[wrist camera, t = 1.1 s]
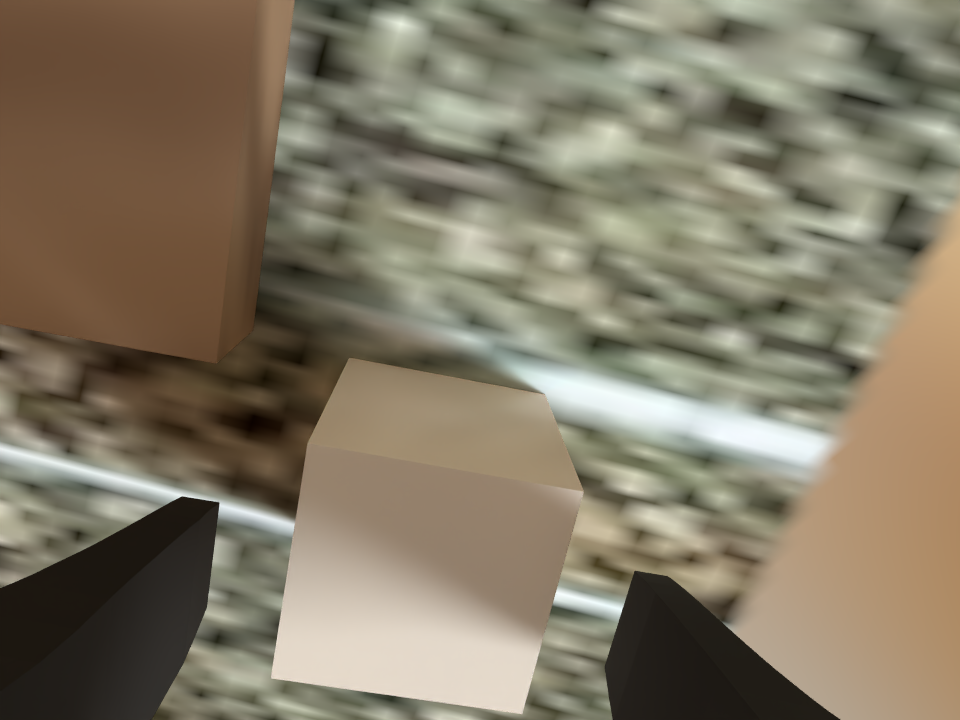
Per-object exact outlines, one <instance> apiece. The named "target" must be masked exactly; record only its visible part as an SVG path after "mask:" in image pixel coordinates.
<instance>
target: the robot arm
mask: <svg viewBox="0 0 960 720" xmlns="http://www.w3.org/2000/svg"><path fill="white" fill-rule="evenodd" d="M218 511H219V502H213V501H206V500H200V499H194V498H188V497H180V498H178V499H176V500H174V501H172V502H170V503H168V504H167V505H165V506H163V507H161V508H159V509H158V510H156V511H154V512H152V513H151V514H149V515H147V516H145V517H144V518H142V519H140V520H138V521H136V522H135V523H133V524H131V525H129V526H127V527H126V528H124V529H122V530H120V531H118V532H116V533H115V534H113V535H111V536H109V537H107V538H105V539H103V540H102V541H100V542H98V543H96V544H94V545H92V546H90V547H88V548H86V549H84V550H82V551H80V552H78V553H76V554H74V555H72V556H70V557H68V558H66V559H64V560H62V561H60V562H57V563H55V564H53V565H51V566H49V567H47V568H45V569H43V570H41V571H39V572H37V573H35V574H33V575H30V576H28V577H26V578H23V579H21V580H19V581H17V582H14V583H12V584H9V585H7V586H5V587H2V588H0V720H151V719H152V718H153V716H154V714H155V713H156V711H157V709H158V707H159V706H160V704H161V702H162V700H163V699H164V697H165V695H166V693H167V691H168V690H169V688H170V686H171V684H172V683H173V681H174V679H175V677H176V676H177V674H178V672H179V670H180V668H181V667H182V665H183V663H184V661H185V659H186V656H187V654H188V652H189V649H190V647H191V645H192V642H193V640H194V638H195V635H196V633H197V630H198V628H199V625H200V623H201V620H202V618H203V616H204V613H205V611H206V608H207V602H208V593H209V585H210V577H211V569H212V560H213V552H214V544H215V535H216V527H217V519H218ZM605 672H606V679H607V686H608V694H609V700H610V706H611V712H612V718H613V720H840V719H839V718H837V717H836V716H834V715H833V714H831V713H830V712H829V711H827V710H826V709H825V708H823V707H822V706H821V705H819V704H818V703H817V702H816V701H814V700H813V699H812V698H810V697H809V696H808V695H806V694H805V693H804V692H803V691H801V690H800V689H799V688H798V687H797V686H795V685H794V684H793V683H792V682H790V681H789V680H788V679H787V678H785V677H784V676H783V675H782V674H780V673H779V672H778V671H776V670H775V669H774V668H773V667H772V666H771V665H770V664H768V663H767V662H766V661H765V660H764V659H763V658H761V657H760V656H759V655H758V654H757V653H756V652H754V651H753V650H752V649H751V648H750V647H749V646H748V645H746V644H745V643H744V642H743V641H742V640H741V639H740V638H739V637H737V636H736V635H735V634H734V633H733V632H732V631H731V630H730V629H729V628H727V627H726V626H725V625H724V624H723V623H722V622H721V621H720V620H719V619H717V618H716V617H715V616H714V615H713V614H712V613H711V612H710V611H709V610H708V609H706V608H705V607H704V606H703V605H702V604H701V603H700V602H699V601H697V600H696V599H695V598H694V597H693V596H692V595H691V594H689V593H688V592H687V591H686V590H685V589H684V588H682V587H681V586H680V585H679V584H678V583H676V582H675V581H674V580H672V579H671V578H670V577H668V576H663V575H657V574H651V573H645V572H639V571H635V572H634V575H633V578H632V581H631V584H630V588H629V591H628V594H627V597H626V600H625V604H624V607H623V610H622V613H621V616H620V619H619V623H618V626H617V629H616V632H615V635H614V639H613V642H612V645H611V648H610V651H609V655H608V658H607V661H606V664H605Z"/></svg>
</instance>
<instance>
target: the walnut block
mask: <svg viewBox="0 0 960 720" xmlns="http://www.w3.org/2000/svg"><path fill="white" fill-rule="evenodd" d="M294 1H295V0H0V324H2V325H8V326H13V327H19V328H24V329H30V330H35V331H41V332H46V333H52V334H57V335H63V336H68V337H74V338H79V339H84V340H90V341H95V342H101V343H106V344H112V345H117V346H123V347H128V348H134V349H139V350H145V351H150V352H155V353H161V354H166V355H172V356H177V357H183V358H188V359H194V360H199V361H205V362H210V363H217V362H219V361H220V360H221V359H222V358H223V357H224V356H225V355H226V354H227V353H229V352H230V351H231V350H232V349H233V348H234V347H235V346H236V345H237V344H239V343H240V342H241V341H242V340H243V339H244V338H245V337H246V336H247V335H249V334H250V333H251V332H252V331H253V328H254V320H255V312H256V304H257V296H258V288H259V280H260V272H261V264H262V256H263V248H264V240H265V232H266V224H267V216H268V208H269V200H270V192H271V184H272V176H273V168H274V160H275V152H276V144H277V136H278V129H279V121H280V113H281V105H282V97H283V89H284V81H285V73H286V65H287V57H288V49H289V41H290V33H291V25H292V17H293V9H294Z"/></svg>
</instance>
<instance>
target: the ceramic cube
mask: <svg viewBox="0 0 960 720" xmlns="http://www.w3.org/2000/svg"><path fill="white" fill-rule="evenodd" d="M583 492H584V491H583V489H582V486H581V484H580V481H579V479H578V476H577V474H576V471H575V469H574V466H573V464H572V461H571V459H570V456H569V454H568V451H567V449H566V446H565V444H564V441H563V439H562V436H561V433H560V431H559V428H558V426H557V423H556V421H555V418H554V416H553V413H552V411H551V408H550V406H549V403H548V401H547V398H546V396H545V394H540V393H535V392H530V391H524V390H519V389H514V388H508V387H503V386H498V385H492V384H487V383H482V382H477V381H471V380H466V379H461V378H455V377H450V376H445V375H439V374H434V373H429V372H424V371H418V370H413V369H408V368H402V367H397V366H392V365H386V364H381V363H376V362H370V361H365V360H360V359H355V358H349V359H348V361H347V363H346V365H345V367H344V369H343V372H342V374H341V376H340V378H339V380H338V382H337V384H336V386H335V388H334V390H333V392H332V394H331V396H330V398H329V400H328V402H327V404H326V406H325V408H324V411H323V413H322V415H321V417H320V419H319V421H318V423H317V425H316V427H315V429H314V431H313V433H312V435H311V437H310V439H309V441H308V444H307V450H306V457H305V463H304V470H303V476H302V482H301V489H300V495H299V502H298V508H297V514H296V521H295V527H294V534H293V540H292V546H291V553H290V559H289V566H288V572H287V578H286V585H285V591H284V598H283V604H282V610H281V617H280V623H279V630H278V636H277V642H276V649H275V655H274V662H273V668H272V674H271V678H273V679H280V680H287V681H294V682H301V683H308V684H315V685H322V686H329V687H336V688H343V689H350V690H357V691H364V692H372V693H379V694H386V695H393V696H400V697H407V698H414V699H421V700H428V701H435V702H442V703H449V704H456V705H463V706H470V707H477V708H484V709H491V710H498V711H505V712H512V713H519V714H522V712H523V709H524V705H525V701H526V698H527V694H528V691H529V687H530V683H531V680H532V676H533V673H534V669H535V665H536V662H537V658H538V654H539V651H540V647H541V644H542V640H543V636H544V633H545V629H546V626H547V622H548V618H549V615H550V611H551V608H552V604H553V600H554V597H555V593H556V590H557V586H558V582H559V579H560V575H561V572H562V568H563V564H564V561H565V557H566V553H567V550H568V546H569V543H570V539H571V535H572V532H573V528H574V525H575V521H576V517H577V514H578V510H579V507H580V503H581V499H582V496H583Z"/></svg>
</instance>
